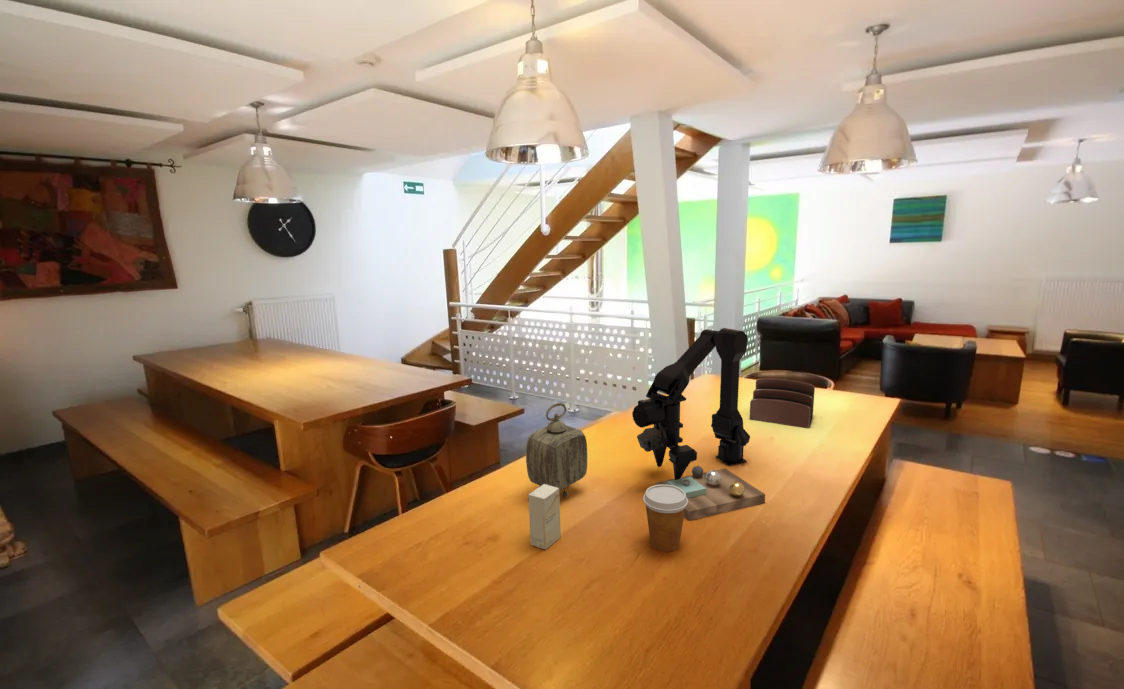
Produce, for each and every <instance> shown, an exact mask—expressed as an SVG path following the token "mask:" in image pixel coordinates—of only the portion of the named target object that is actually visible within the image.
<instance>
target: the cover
mask: <svg viewBox="0 0 1124 689" xmlns="http://www.w3.org/2000/svg"><path fill="white" fill-rule="evenodd" d="M667 485H672V486H676V487H678V488H680V489H682V490H683V491H684V492H685V494H686V497H687V498H690V497H695V496H699V495H704V494H706V488H705V487H704V486H702V485H701V484H700V483H698V482H697V481H696V480H694V479H693V478H692V477H687V478H682V479H677V480H672V481H668V482H667Z"/></svg>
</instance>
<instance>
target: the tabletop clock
mask: <svg viewBox="0 0 1124 689" xmlns="http://www.w3.org/2000/svg"><path fill="white" fill-rule="evenodd" d="M560 406H561V407H562V408H564V409H563V412H562V413H561V414H558V413H555V414H554V415H553V416H554V417H553V418H552V417H549V412H550V411H551V410H552V409H553V408H556V407H560ZM566 412H567V407H566V405H565V404H564V403H563V402H557V403H555V404H552V405H551V406H549V408H548V409H547V410H546V412H545V417H546V419H547V420H548V421H549V422H548V424H547V425H546V426H543V427H541V428H540V429H537V430H535V431H533V432H532V433H531V434H530V435H529V436H528V437H527V441H526V447H525V449H526V450H525V454H526V455H525V463H526V470H527V471H526V472H527V476H528V478H529V481H530V482H531V483H534V484H535V485H537V486H538V487H540V486H542V485H543V484H547V485H550V486H554V487H557V488H559V490H561V489H562V492H561V494H562V495H561V496H562V497H563V498H567V497H568V496H569V493H568V491H567V490H566V487H569V486H571V485H573V484H575V483H576V482H578V481H580V480H582V479H583V478H584V477H586V475H587V470H588V443H587V438H586V435H585V434H584V431H583V430H581V429H579V428H576V427H572V426H569V425H566V424H565V422H564V421H563V420H561V418H562V417H564V415H565V414H566Z"/></svg>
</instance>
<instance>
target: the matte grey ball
mask: <svg viewBox="0 0 1124 689" xmlns="http://www.w3.org/2000/svg"><path fill="white" fill-rule="evenodd" d="M703 473H704V469H703V468H702V467H701V466H699V465H695V466H693V467H692V469H691V475H694V476H695V477H701V476H702V475H703Z"/></svg>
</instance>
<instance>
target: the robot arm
mask: <svg viewBox="0 0 1124 689" xmlns="http://www.w3.org/2000/svg"><path fill="white" fill-rule="evenodd" d="M748 340H749V339H748V334H746V333H745V331H743V330H741V329H740V330H739V329H733V328H727V327H722V328H720V329H719V330H714V329H713V330H712V329H709V328H706V329H703V330H701V332H700V334H699V336H698V337H697V339H696V340H695V341H694V342H692V344H691V345H690V346H689V347H688V348H687V349H686V351H685V352H684V353H683V354H682V355H681V356H680V357H679V358H678V360H676V361H675V362H674V363H672V364H668V365H666V366H665V367H664V368H662V369H661V370H660V371H659V372H657V373H656V375H655V376H654V380H653V381H652V383H651V385H650V387H649V389H648V390H647V393H646V395H645V397H646V398H648V399H640V400H638V401H637V405H635V406H634V407H633V410H632V414H631V415H632V416H631V417H632V420H633V422H634V423H635V425H636V426H637V427H639V428H642V429H643V428H645V429H644V430H643V431H642V432H641V433H639V434H638V435H637V436H636V439H637V441H638V444H639V446H640V448H642V449H643V450H644V451H645V452H647V453H649V452H651V451H652V453H653V457H654V460H655V463H656V466H657V468H661V467H662V466H663V463H664V460H665V456H666V452H667V448H668V449H669V450H668V457H669V458H668V461H669V462H671V463H672V466H673V475H674V476H673V477H674V478H673V479H675V480H677V479H680V478H681V477H683V474H684V473H685V471H686V469H687V468H688V467H689V465H690V464H691V463H693V462H695V461H697V459H698V452H697V451H696V450H695V449H694V448H693V447H691V446H690V445H688V444H683V445H679V444H680V443H683V442H684V441H683V440H684V439H683V437H681V435H680V434H681V433H680V432H681V431H680V429H683V428H684V423H683V422H681V402H686V401H687V398H686V396H684V395H683V392H684V391H685V389H686V388H687V387H688V385H689V384H690V378H691V376H692V374H693V372H694V371H695V370H696V369H697V368H698V367H699V366H700V365H701V364H702V363H703V361H705V360H706V358H707V357H708V356H709V355H710V353H711V352H712V351H713V350H714V349H715V351H716V352H717V355H718V356H719V359H720V361H721V362H720V383H719V384H720V386H719V387H720V389H719V391H720V392H719V408H718V410H717V411H716V412H715V413H713V414H712V415H711V424H710V427H711V428H712V432H713V434H714V438H715V439H717V440H719V445H718V449H717V450H718V452H717V455H716V456H715V458H716V459H717V460H719V461H720V462H722V463H724V465H727V466H734V465H739V464H740V465H741V464H744V463H747V461H748V460H746V459H745V458H744V447H746V446H747V444H749V442H750V439H751V435H750V434H749V433H748V431H746V430H745V428H744V419H743V417H742V415H741V413H740V411H739V407H738V406H739V384H740V383H739V382H740V364H741V362H740V361H741V360H742V358H743V356H744V355H745V354H746V353H747V347H748ZM658 392H659V393H658ZM661 393H662V394H661ZM664 394H665V395H664ZM652 425H653V427H649V426H652ZM647 427H648V428H647Z"/></svg>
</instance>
